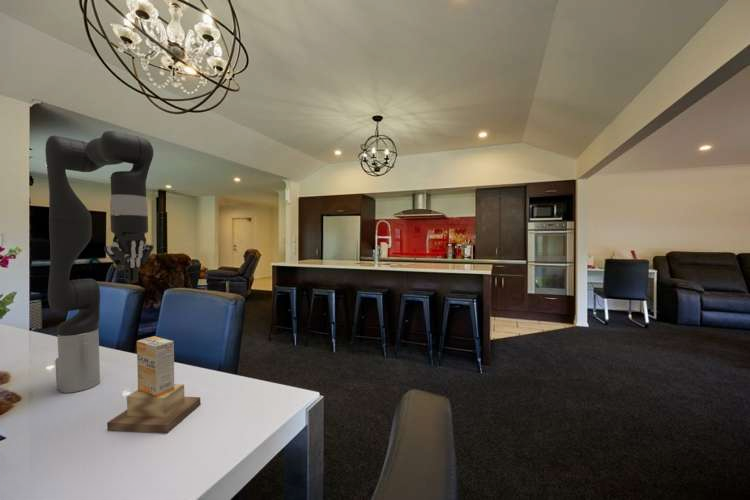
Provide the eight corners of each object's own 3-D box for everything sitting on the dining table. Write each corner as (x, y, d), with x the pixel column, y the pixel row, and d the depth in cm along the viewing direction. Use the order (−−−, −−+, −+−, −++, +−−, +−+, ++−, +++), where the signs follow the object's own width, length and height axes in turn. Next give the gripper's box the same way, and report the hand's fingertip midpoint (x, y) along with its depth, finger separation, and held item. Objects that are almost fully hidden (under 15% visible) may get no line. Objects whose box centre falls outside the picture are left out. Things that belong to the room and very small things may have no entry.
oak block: (127, 415, 79) (126, 396, 78) (149, 401, 86) (148, 383, 85) (165, 417, 78) (165, 397, 78) (184, 402, 85) (184, 384, 85)
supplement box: (136, 390, 81) (135, 340, 81) (156, 382, 86) (155, 335, 85) (156, 398, 78) (154, 345, 77) (175, 389, 82) (174, 339, 81)
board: (107, 430, 76) (107, 422, 76) (149, 402, 89) (149, 395, 89) (167, 433, 75) (166, 425, 75) (200, 404, 88) (200, 397, 88)
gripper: (136, 215, 87) (138, 278, 88) (90, 212, 74) (93, 286, 74) (162, 216, 86) (164, 279, 87) (121, 212, 73) (123, 286, 74)
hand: (131, 282), depth 81 cm, fingers closed
